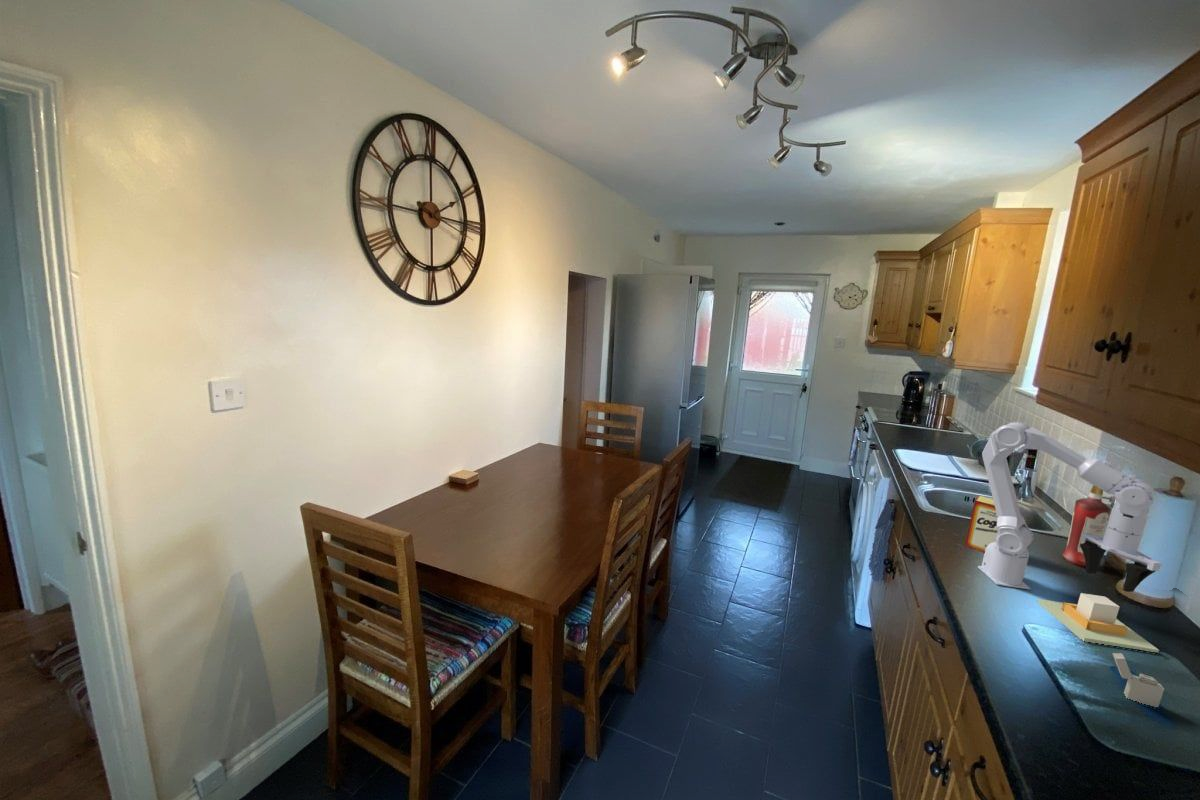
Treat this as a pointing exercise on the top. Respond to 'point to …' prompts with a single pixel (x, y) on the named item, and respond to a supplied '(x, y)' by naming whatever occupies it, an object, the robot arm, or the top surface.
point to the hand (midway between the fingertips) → (1109, 581)
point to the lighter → (1139, 684)
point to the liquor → (1086, 524)
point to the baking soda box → (982, 524)
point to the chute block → (1097, 608)
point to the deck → (1096, 627)
